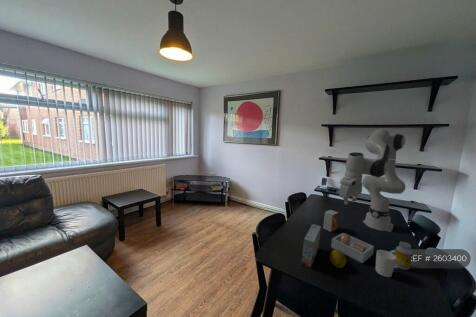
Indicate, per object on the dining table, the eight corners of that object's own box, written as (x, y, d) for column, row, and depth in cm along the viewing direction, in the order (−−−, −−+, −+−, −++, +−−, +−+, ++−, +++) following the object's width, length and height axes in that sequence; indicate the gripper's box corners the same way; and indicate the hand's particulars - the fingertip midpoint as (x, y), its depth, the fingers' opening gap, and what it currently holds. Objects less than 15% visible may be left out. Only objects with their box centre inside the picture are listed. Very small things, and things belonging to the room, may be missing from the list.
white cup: (370, 267, 102) (372, 249, 100) (384, 266, 102) (386, 249, 101) (382, 278, 94) (385, 259, 93) (397, 278, 95) (400, 259, 93)
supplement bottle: (405, 271, 99) (409, 248, 98) (390, 263, 105) (394, 241, 104) (412, 268, 102) (416, 246, 100) (397, 260, 108) (401, 239, 106)
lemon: (344, 274, 96) (346, 259, 95) (327, 268, 100) (329, 253, 99) (345, 262, 105) (347, 248, 104) (330, 257, 109) (331, 243, 108)
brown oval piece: (342, 243, 122) (343, 233, 121) (350, 247, 118) (352, 236, 117) (338, 245, 119) (339, 235, 118) (346, 250, 115) (348, 239, 114)
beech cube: (356, 250, 116) (357, 242, 115) (365, 254, 111) (366, 246, 111) (352, 252, 113) (353, 244, 112) (361, 257, 109) (362, 249, 108)
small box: (330, 232, 137) (332, 214, 135) (322, 228, 142) (324, 211, 140) (337, 229, 141) (339, 212, 140) (329, 225, 147) (330, 209, 145)
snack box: (311, 269, 98) (314, 242, 96) (300, 265, 101) (303, 238, 99) (319, 249, 116) (321, 225, 114) (309, 246, 119) (311, 223, 117)
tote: (331, 247, 119) (332, 238, 118) (342, 240, 126) (343, 232, 126) (362, 263, 104) (363, 254, 104) (372, 255, 112) (373, 246, 111)
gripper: (355, 177, 121) (352, 198, 123) (338, 180, 110) (335, 203, 111) (366, 179, 116) (363, 201, 118) (350, 183, 104) (347, 207, 106)
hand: (350, 202), depth 115 cm, fingers open, 8 cm apart
